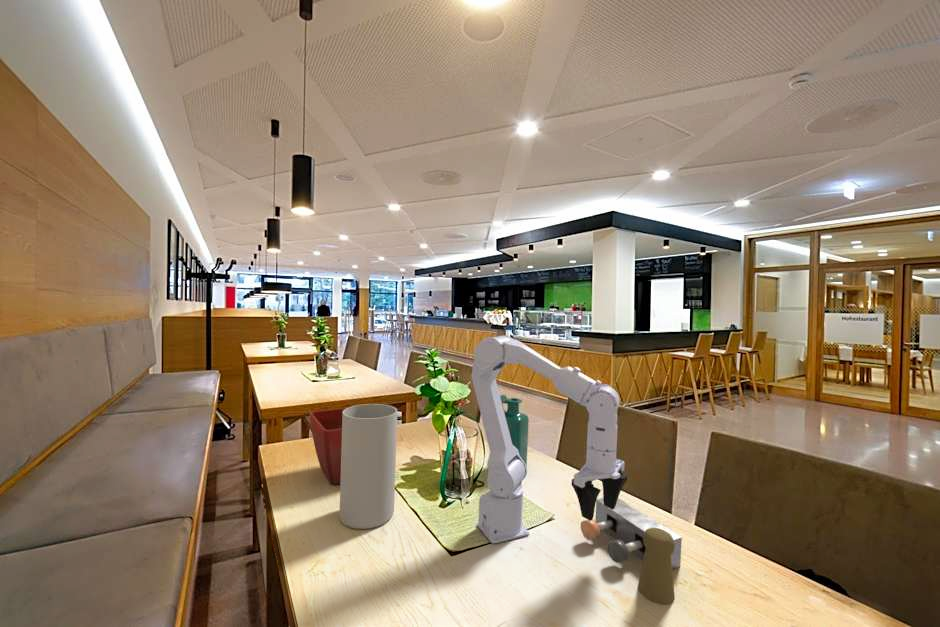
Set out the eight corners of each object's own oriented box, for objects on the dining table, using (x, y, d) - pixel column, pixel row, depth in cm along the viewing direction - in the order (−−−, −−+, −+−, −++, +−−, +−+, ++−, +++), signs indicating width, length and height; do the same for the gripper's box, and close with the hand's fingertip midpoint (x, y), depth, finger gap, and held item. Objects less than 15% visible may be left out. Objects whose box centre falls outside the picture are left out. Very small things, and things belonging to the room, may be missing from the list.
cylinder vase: (404, 509, 95) (407, 408, 95) (371, 536, 84) (374, 422, 83) (363, 497, 100) (366, 401, 100) (327, 521, 89) (330, 413, 88)
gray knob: (620, 566, 75) (621, 548, 75) (607, 555, 79) (607, 538, 79) (646, 558, 78) (647, 540, 78) (632, 547, 82) (633, 530, 81)
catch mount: (660, 573, 76) (662, 543, 75) (595, 524, 92) (596, 499, 92) (680, 566, 78) (681, 537, 78) (612, 519, 94) (613, 495, 94)
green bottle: (528, 466, 123) (531, 398, 123) (517, 476, 116) (520, 403, 116) (501, 459, 129) (504, 393, 128) (488, 467, 121) (491, 398, 121)
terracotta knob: (591, 543, 83) (592, 526, 82) (580, 533, 86) (581, 517, 86) (616, 535, 86) (617, 519, 85) (604, 527, 89) (605, 511, 89)
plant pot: (391, 478, 112) (393, 420, 111) (323, 494, 101) (324, 430, 101) (368, 455, 128) (370, 404, 127) (307, 467, 117) (308, 412, 116)
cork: (679, 607, 67) (682, 545, 67) (642, 600, 68) (645, 539, 68) (668, 583, 73) (671, 525, 73) (634, 577, 74) (637, 520, 74)
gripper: (597, 460, 71) (593, 533, 72) (639, 445, 80) (636, 510, 80) (566, 448, 77) (563, 516, 77) (608, 435, 86) (606, 496, 86)
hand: (598, 512), depth 79 cm, fingers open, 7 cm apart
